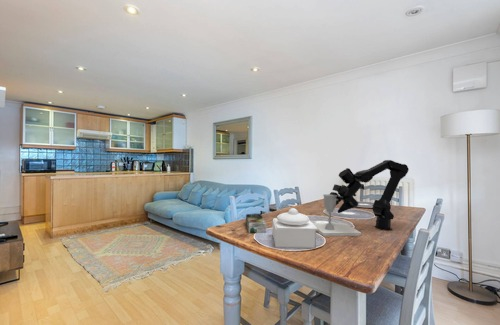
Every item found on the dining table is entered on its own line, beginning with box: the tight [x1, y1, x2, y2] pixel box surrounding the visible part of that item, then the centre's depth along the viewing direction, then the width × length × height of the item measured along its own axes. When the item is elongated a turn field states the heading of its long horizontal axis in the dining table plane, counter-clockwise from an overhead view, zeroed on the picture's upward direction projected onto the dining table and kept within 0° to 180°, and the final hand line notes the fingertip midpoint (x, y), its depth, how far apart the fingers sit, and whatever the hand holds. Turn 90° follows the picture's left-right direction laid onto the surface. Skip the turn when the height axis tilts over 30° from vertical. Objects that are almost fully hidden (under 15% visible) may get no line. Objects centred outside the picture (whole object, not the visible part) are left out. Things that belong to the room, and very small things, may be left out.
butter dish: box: [272, 207, 318, 249], centre depth 109 cm, size 18×18×16 cm
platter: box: [312, 222, 362, 237], centre depth 126 cm, size 20×18×2 cm
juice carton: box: [245, 213, 267, 234], centre depth 130 cm, size 20×10×6 cm, turn 6°
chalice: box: [322, 193, 337, 230], centre depth 124 cm, size 7×7×18 cm
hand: (333, 210), depth 124 cm, fingers open, 9 cm apart
